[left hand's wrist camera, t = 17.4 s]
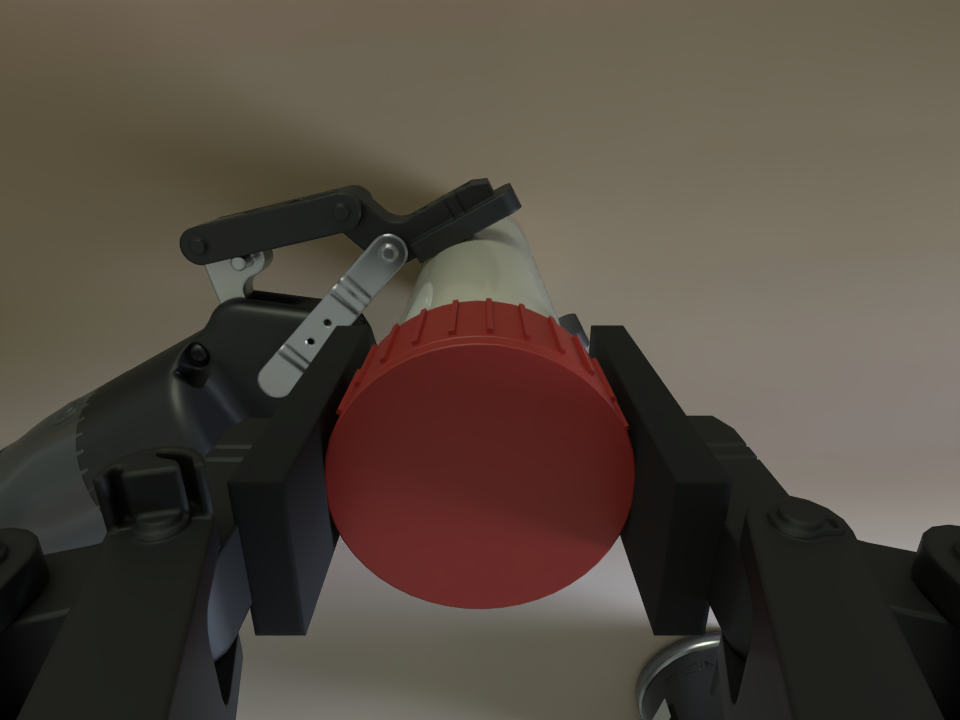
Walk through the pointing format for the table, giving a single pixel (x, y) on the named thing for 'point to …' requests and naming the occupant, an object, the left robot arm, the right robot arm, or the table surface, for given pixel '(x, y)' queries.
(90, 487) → the right robot arm
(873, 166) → the table surface
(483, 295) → the bottle
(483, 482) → the lid
